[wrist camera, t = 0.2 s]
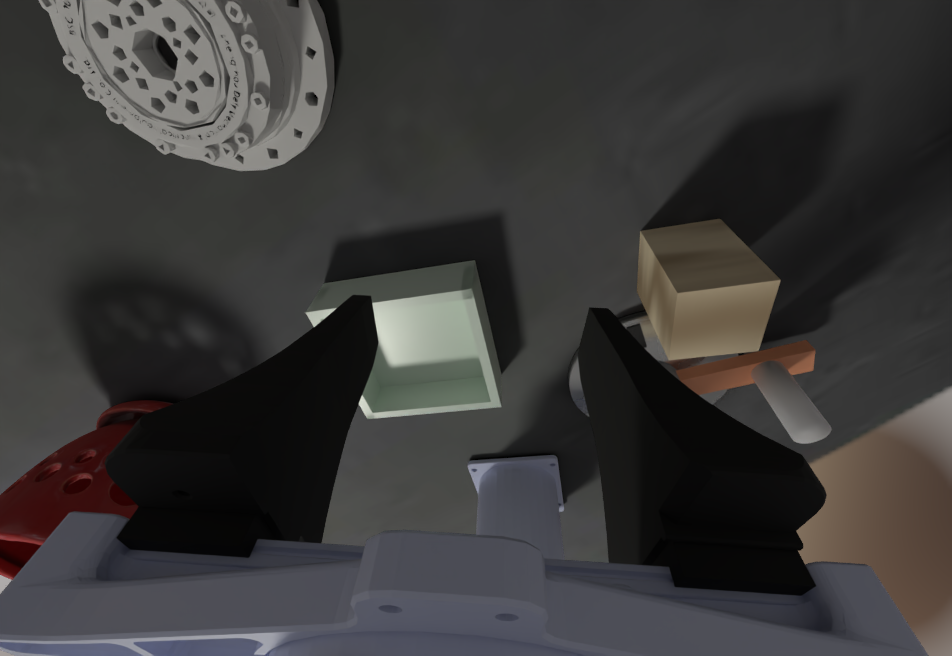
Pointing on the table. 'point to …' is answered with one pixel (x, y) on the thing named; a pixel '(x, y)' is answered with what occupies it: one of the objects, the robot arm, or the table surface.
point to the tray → (424, 340)
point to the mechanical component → (205, 73)
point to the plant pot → (66, 487)
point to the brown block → (704, 290)
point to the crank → (766, 385)
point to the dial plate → (649, 340)
